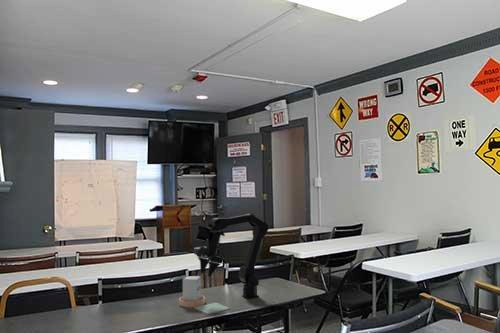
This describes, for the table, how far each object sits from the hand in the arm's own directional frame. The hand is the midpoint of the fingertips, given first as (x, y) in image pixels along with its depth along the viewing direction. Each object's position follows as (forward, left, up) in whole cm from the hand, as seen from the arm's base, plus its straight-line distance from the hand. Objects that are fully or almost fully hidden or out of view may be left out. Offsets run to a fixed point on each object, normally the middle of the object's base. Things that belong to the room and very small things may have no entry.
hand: (205, 274), depth 199 cm
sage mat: (+1, +8, -14) cm, 16 cm away
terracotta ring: (+4, -6, -14) cm, 16 cm away
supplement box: (+4, -6, -15) cm, 16 cm away
